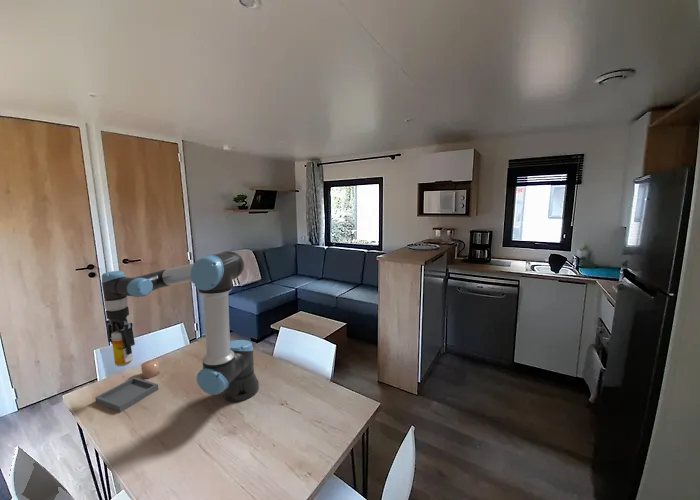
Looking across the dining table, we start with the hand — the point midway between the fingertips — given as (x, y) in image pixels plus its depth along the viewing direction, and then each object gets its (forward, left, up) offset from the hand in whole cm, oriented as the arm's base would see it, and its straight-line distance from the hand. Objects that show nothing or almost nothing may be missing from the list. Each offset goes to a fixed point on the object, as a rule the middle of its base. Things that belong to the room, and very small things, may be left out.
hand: (123, 359), depth 126 cm
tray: (0, 0, -17) cm, 17 cm away
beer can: (0, 0, -2) cm, 2 cm away
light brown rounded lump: (+7, -15, -17) cm, 24 cm away
